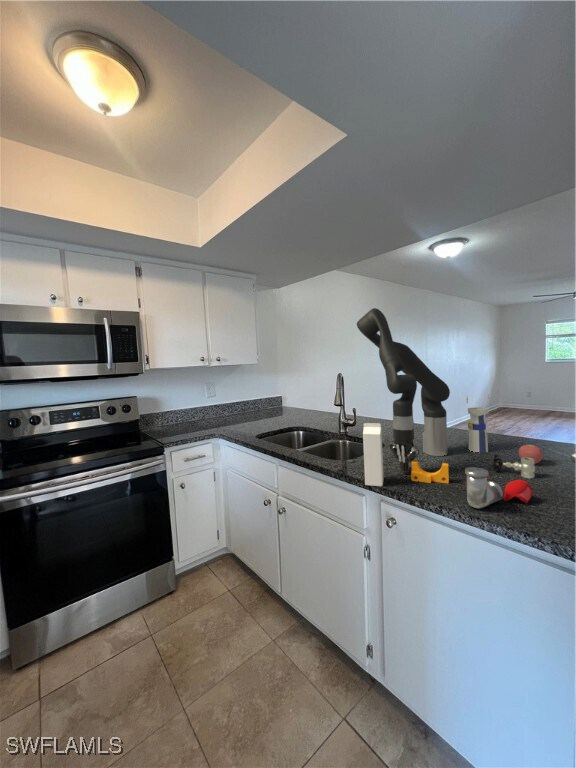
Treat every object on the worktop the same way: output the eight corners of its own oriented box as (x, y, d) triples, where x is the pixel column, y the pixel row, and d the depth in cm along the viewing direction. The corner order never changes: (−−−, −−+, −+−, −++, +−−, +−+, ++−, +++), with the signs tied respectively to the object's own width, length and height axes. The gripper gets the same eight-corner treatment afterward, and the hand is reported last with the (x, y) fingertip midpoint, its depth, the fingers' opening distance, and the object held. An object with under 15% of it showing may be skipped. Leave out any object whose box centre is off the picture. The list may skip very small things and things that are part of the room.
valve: (536, 475, 112) (496, 468, 120) (536, 457, 111) (496, 451, 120) (533, 481, 107) (492, 473, 115) (533, 462, 107) (492, 456, 115)
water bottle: (474, 454, 138) (473, 398, 136) (464, 448, 146) (463, 395, 144) (493, 453, 137) (492, 396, 136) (481, 447, 146) (481, 394, 144)
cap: (523, 484, 98) (504, 474, 99) (538, 485, 92) (518, 474, 93) (514, 507, 96) (496, 497, 97) (529, 510, 90) (509, 499, 91)
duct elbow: (481, 514, 88) (480, 476, 87) (461, 506, 93) (460, 470, 92) (503, 503, 93) (503, 467, 92) (483, 496, 98) (483, 462, 97)
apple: (515, 459, 128) (515, 440, 127) (537, 460, 125) (537, 441, 125) (522, 466, 121) (522, 445, 120) (545, 467, 118) (546, 446, 118)
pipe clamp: (411, 481, 114) (410, 464, 113) (413, 476, 117) (412, 460, 117) (448, 485, 108) (447, 467, 107) (448, 481, 112) (448, 463, 111)
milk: (367, 479, 118) (364, 421, 116) (383, 480, 115) (381, 421, 114) (365, 485, 112) (362, 424, 110) (382, 486, 110) (380, 425, 108)
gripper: (383, 425, 123) (384, 468, 124) (410, 431, 111) (411, 478, 113) (396, 422, 126) (398, 464, 128) (424, 428, 115) (425, 474, 116)
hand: (404, 471), depth 120 cm, fingers closed
